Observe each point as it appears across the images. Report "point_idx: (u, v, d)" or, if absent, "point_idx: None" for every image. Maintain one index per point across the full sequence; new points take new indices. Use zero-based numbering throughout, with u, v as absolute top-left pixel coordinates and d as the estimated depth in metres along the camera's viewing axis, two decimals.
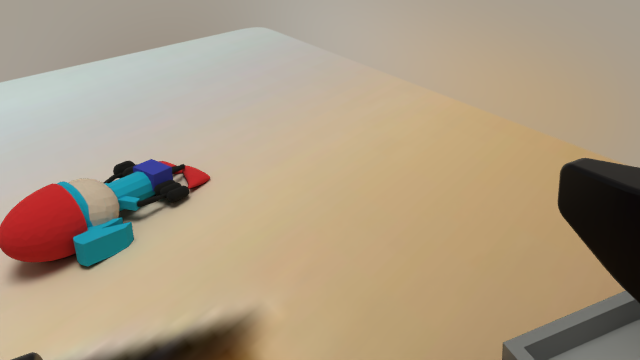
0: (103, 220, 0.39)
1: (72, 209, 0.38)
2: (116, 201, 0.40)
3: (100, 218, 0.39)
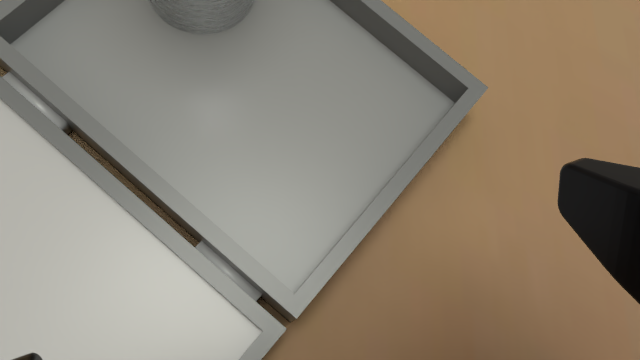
0: None
1: None
2: None
3: None
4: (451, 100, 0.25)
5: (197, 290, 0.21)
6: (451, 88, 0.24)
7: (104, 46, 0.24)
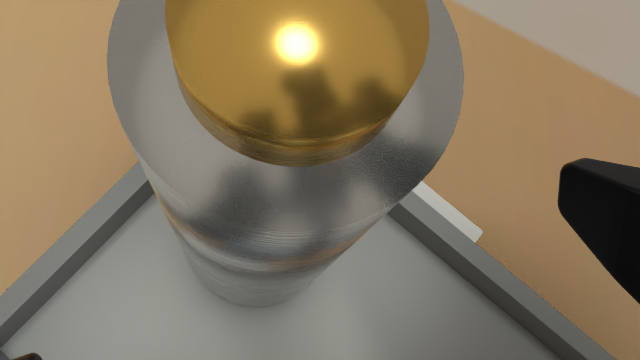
0: None
1: None
2: None
3: None
4: None
5: None
6: None
7: (132, 336, 0.18)
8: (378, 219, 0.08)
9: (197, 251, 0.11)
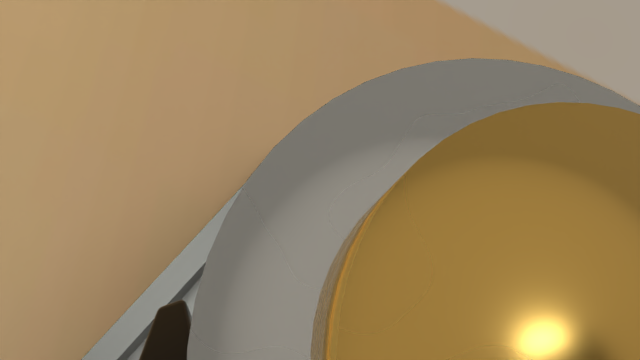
0: None
1: None
2: None
3: None
4: None
5: None
6: None
7: None
8: None
9: None
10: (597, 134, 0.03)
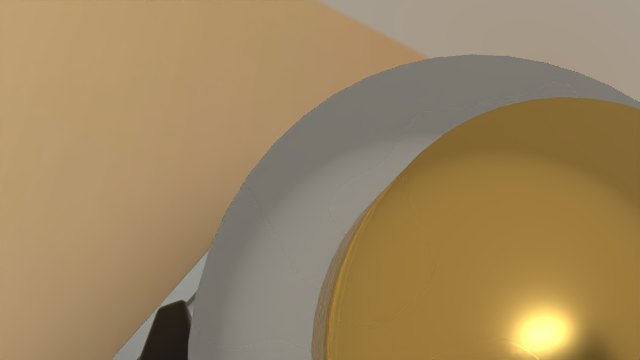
0: None
1: None
2: None
3: None
4: None
5: None
6: None
7: None
8: None
9: None
10: (597, 129, 0.04)
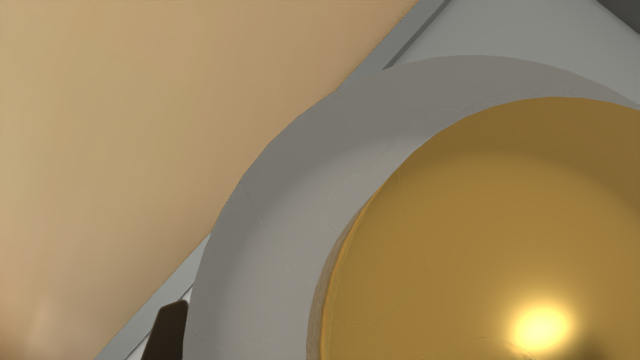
0: None
1: None
2: None
3: None
4: None
5: None
6: None
7: None
8: None
9: None
10: (590, 128, 0.04)
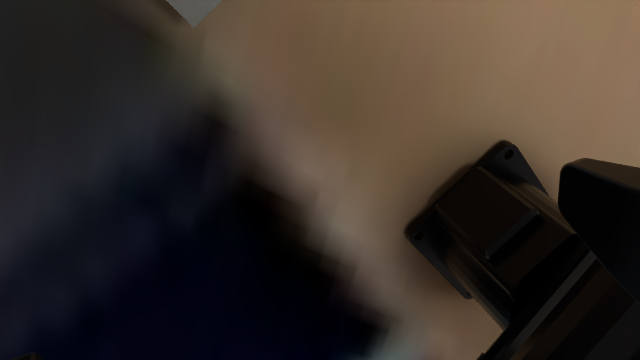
0: None
1: None
2: None
3: None
4: None
5: None
6: None
7: None
8: None
9: None
10: None
